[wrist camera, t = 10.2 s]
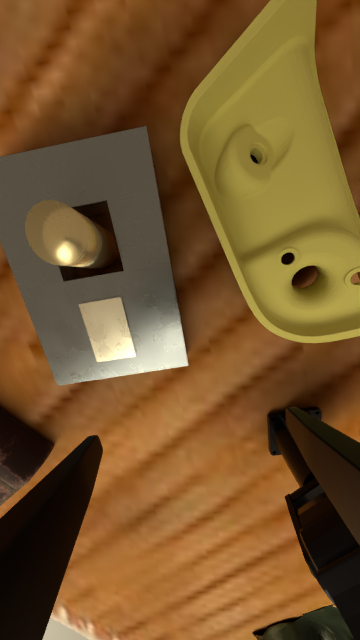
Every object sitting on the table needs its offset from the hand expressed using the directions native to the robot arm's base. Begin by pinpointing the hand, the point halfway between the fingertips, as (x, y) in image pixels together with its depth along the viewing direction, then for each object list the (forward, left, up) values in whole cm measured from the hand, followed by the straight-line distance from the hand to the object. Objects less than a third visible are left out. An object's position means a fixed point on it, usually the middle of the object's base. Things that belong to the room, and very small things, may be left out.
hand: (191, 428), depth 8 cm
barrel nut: (+11, +7, -12) cm, 18 cm away
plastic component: (+10, -10, -12) cm, 19 cm away
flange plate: (+8, +7, -12) cm, 16 cm away
